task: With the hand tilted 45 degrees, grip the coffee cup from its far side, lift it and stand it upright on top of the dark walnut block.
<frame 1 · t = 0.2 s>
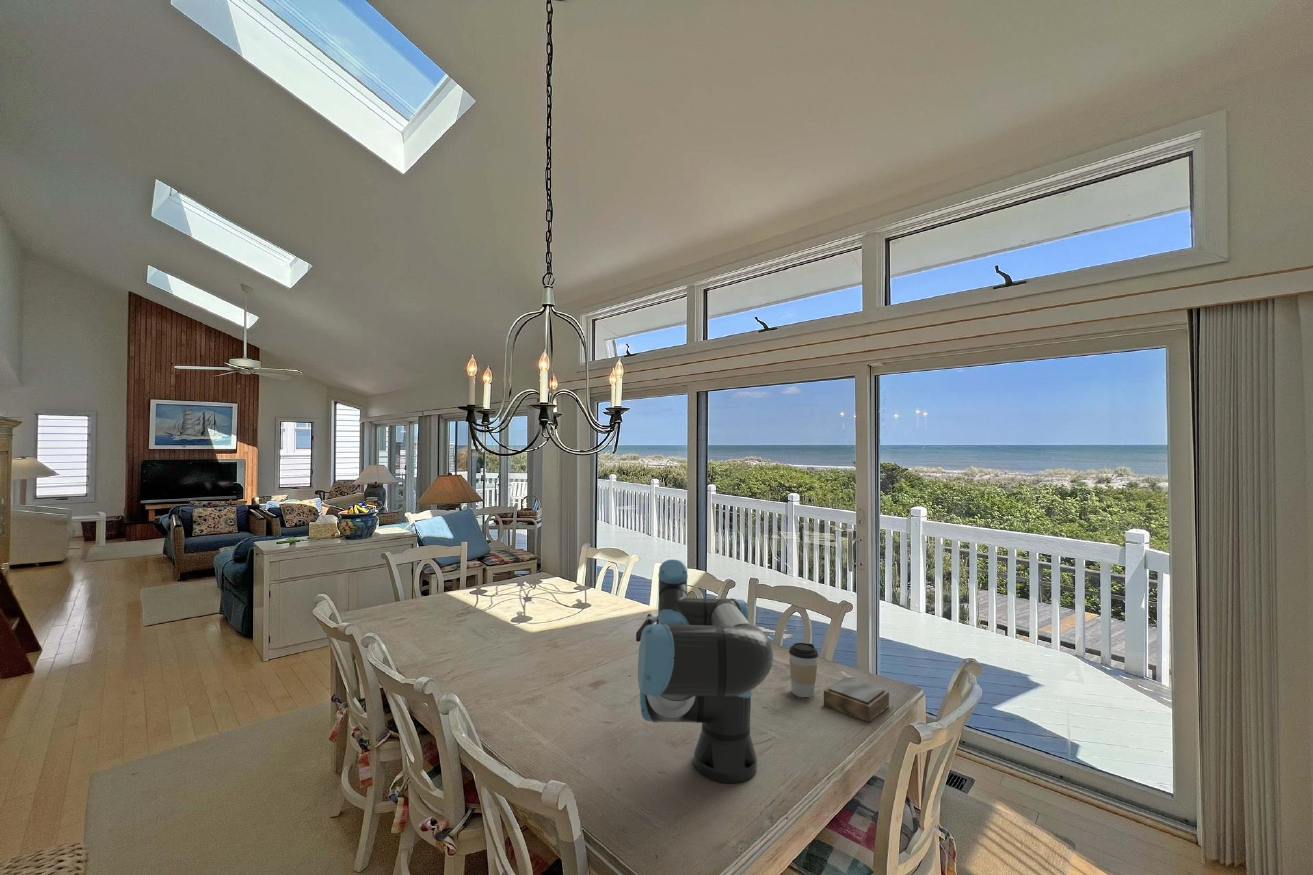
hand: (670, 653, 159), 16 cm above the table, tool tilted 35°, fingers open, 13 cm apart
walnut block: (856, 705, 162), on the table
coffee cup: (802, 693, 169), on the table
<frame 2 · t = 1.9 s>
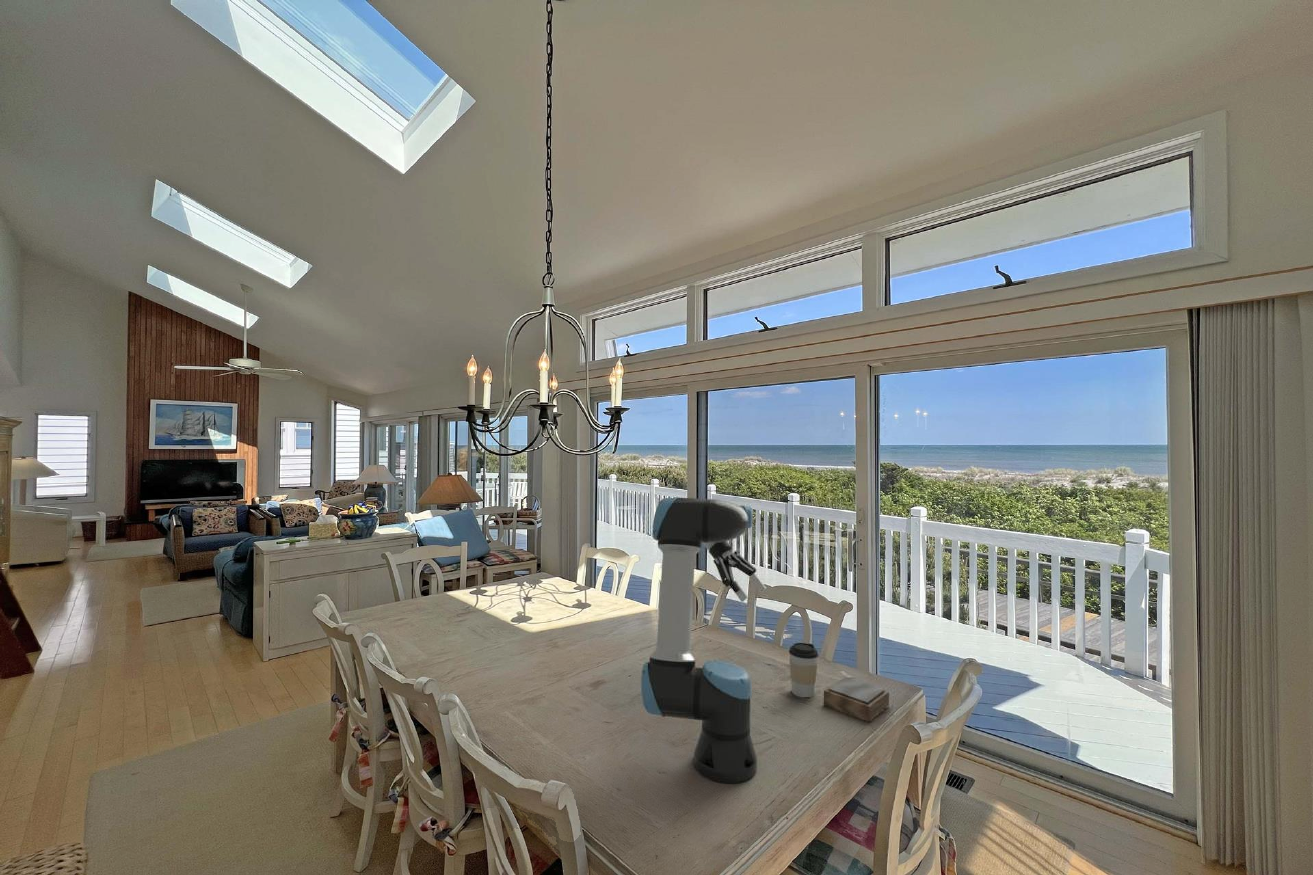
hand: (754, 595, 178), 28 cm above the table, tool tilted 45°, fingers open, 13 cm apart
nothing on the table moved.
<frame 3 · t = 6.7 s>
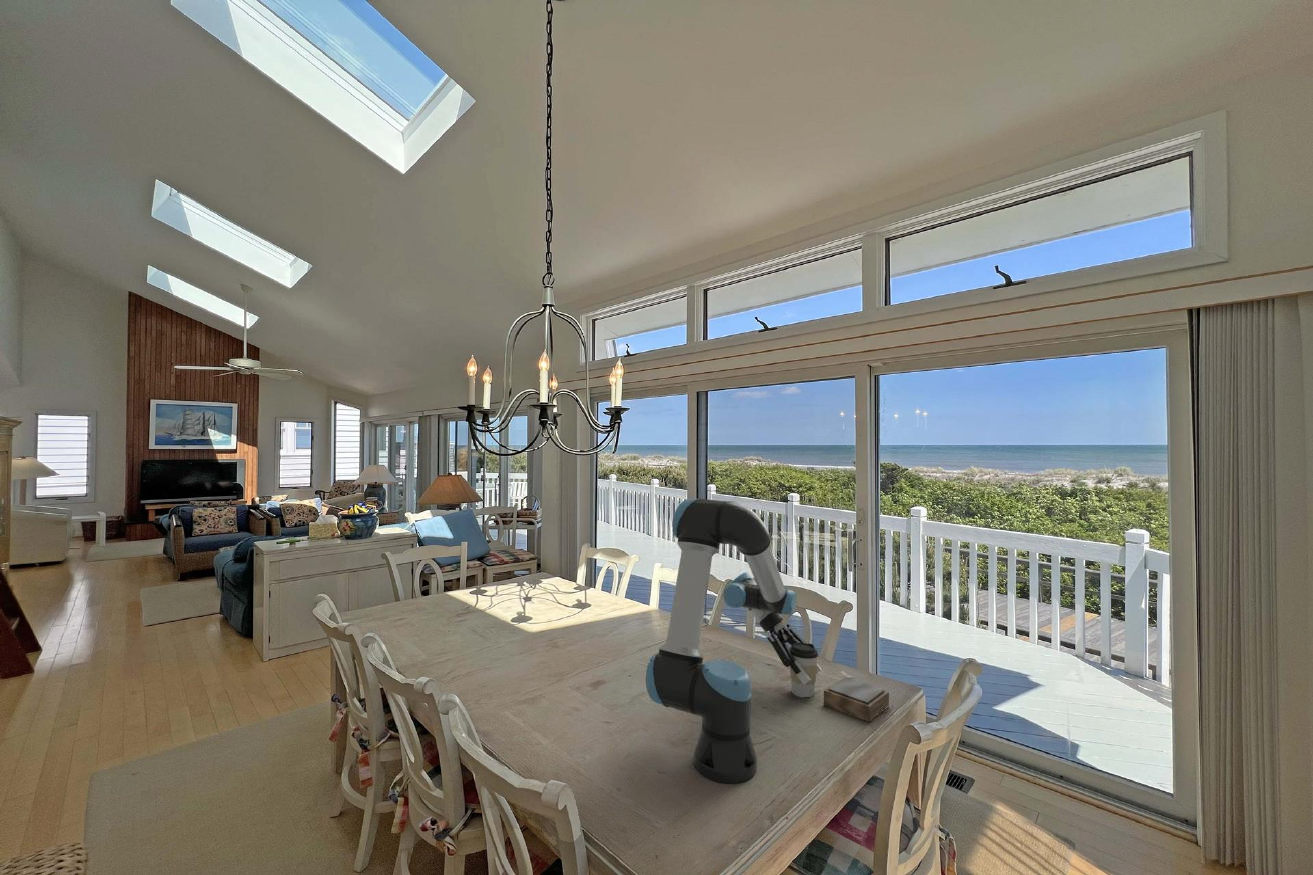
hand: (812, 676, 168), 6 cm above the table, tool tilted 45°, fingers closed on coffee cup, 9 cm apart
coffee cup: (802, 693, 169), on the table, touching gripper
when the fingers open (12 cm above the table, at t = 13.3 s): coffee cup drops 1 cm, resting on walnut block.
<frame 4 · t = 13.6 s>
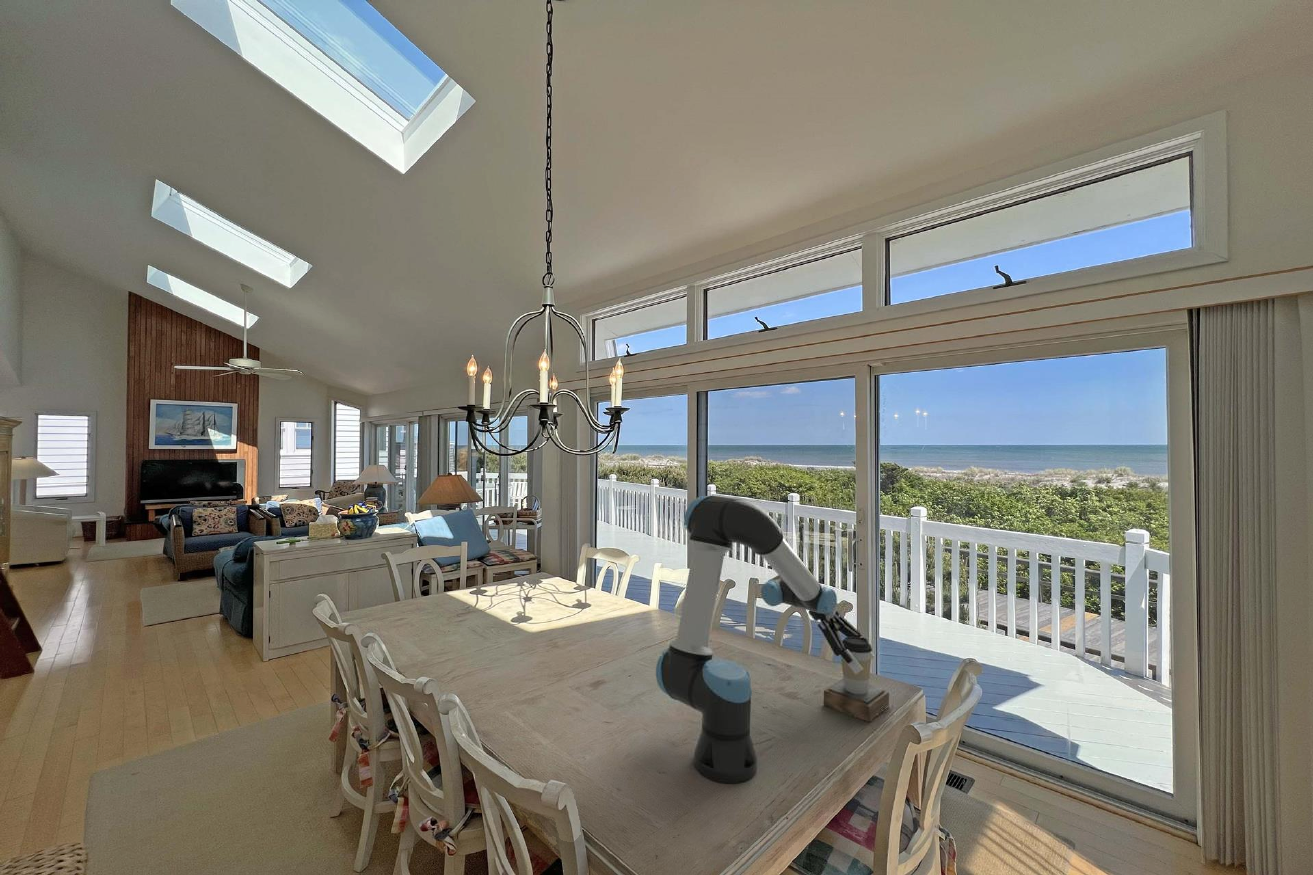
hand: (865, 665, 160), 13 cm above the table, tool tilted 45°, fingers open, 12 cm apart
coffee cup: (855, 689, 161), point 5 cm above the table, touching walnut block
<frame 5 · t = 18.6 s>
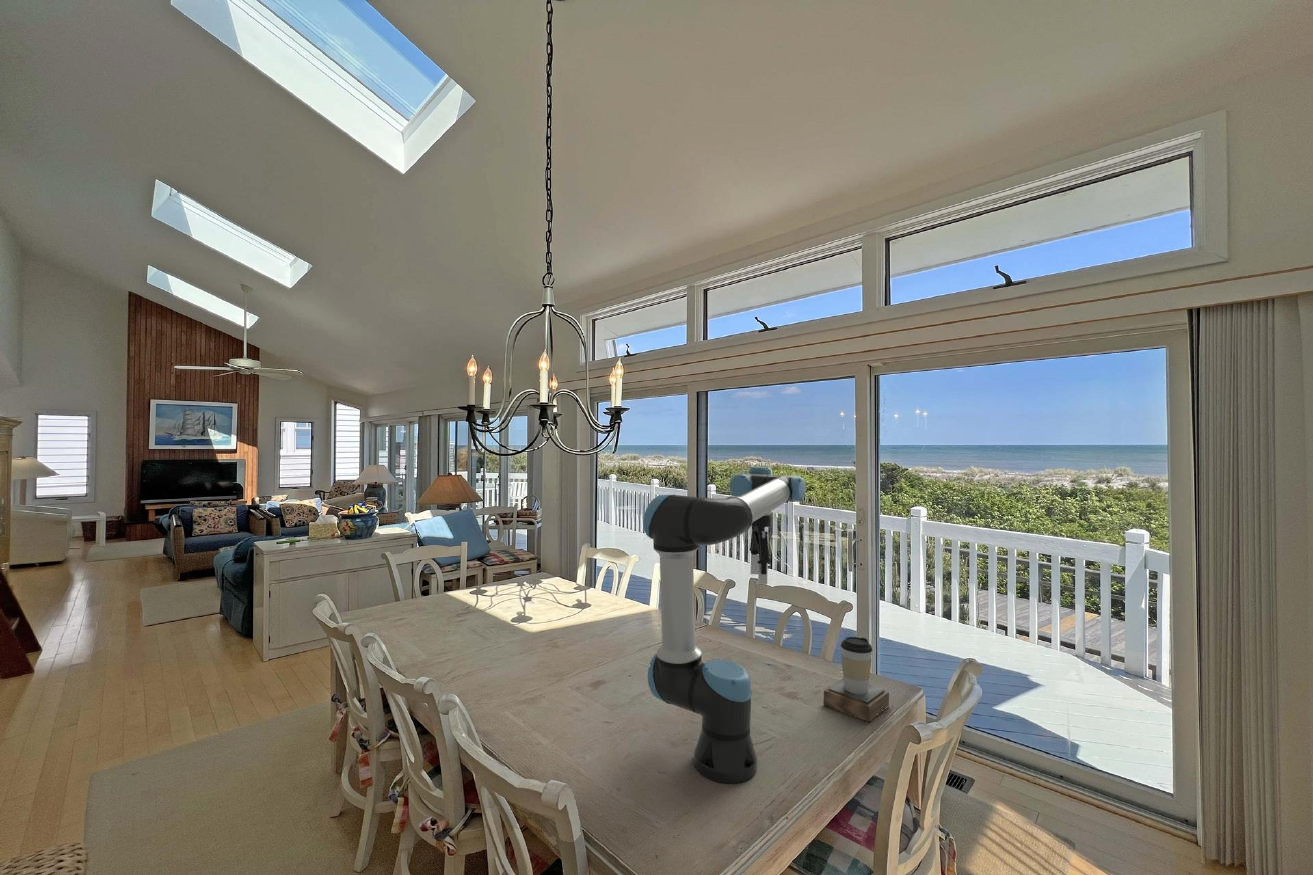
hand: (758, 578, 174), 35 cm above the table, tool pointing down, fingers open, 13 cm apart
nothing on the table moved.
at the end: coffee cup inside the target area on the walnut block (0.3 cm from its centre), point 4.8 cm above the walnut block's base; coffee cup tilted 0°; the gripper is holding nothing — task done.
